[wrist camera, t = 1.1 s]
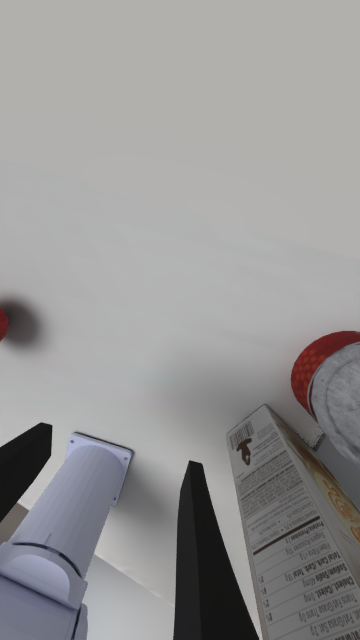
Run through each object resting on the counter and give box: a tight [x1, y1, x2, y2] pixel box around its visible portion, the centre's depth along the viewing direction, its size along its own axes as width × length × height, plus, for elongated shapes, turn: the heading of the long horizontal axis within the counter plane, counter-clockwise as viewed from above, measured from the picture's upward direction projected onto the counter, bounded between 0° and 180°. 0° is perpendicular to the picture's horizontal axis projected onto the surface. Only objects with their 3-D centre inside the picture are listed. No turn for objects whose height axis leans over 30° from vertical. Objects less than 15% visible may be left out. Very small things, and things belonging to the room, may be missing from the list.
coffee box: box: [226, 405, 360, 640], centre depth 12 cm, size 9×6×16 cm
